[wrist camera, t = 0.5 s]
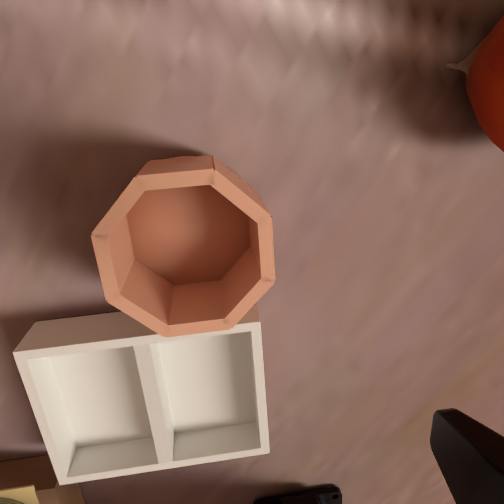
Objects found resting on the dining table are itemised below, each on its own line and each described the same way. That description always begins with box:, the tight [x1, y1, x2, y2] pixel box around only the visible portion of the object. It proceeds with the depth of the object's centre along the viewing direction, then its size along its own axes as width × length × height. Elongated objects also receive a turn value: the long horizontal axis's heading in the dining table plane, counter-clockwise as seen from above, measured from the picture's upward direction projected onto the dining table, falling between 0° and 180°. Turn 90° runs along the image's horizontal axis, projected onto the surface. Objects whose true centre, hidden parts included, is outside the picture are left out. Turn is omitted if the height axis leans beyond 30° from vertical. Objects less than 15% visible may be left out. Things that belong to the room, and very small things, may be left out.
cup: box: [91, 155, 275, 338], centre depth 18 cm, size 7×7×5 cm
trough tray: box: [12, 303, 270, 485], centre depth 22 cm, size 9×12×3 cm
